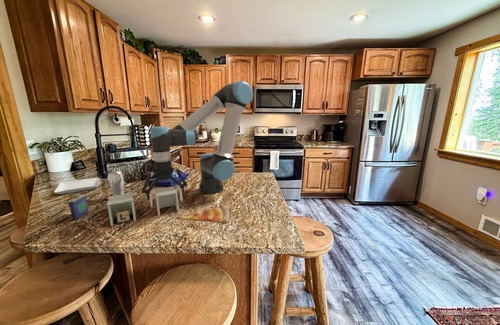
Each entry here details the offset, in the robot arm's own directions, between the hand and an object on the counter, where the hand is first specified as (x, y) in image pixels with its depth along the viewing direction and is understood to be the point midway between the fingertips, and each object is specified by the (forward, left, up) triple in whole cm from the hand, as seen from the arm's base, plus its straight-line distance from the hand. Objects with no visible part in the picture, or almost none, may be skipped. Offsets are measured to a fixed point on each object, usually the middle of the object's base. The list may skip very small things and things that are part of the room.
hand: (166, 202), depth 98 cm
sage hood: (+16, +9, -4) cm, 19 cm away
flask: (+38, +6, -4) cm, 39 cm away
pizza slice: (-21, +3, -4) cm, 22 cm away
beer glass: (+34, -15, -4) cm, 37 cm away
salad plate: (+71, -32, -4) cm, 78 cm away
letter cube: (+16, +9, -4) cm, 19 cm away
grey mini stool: (0, 0, -4) cm, 4 cm away
